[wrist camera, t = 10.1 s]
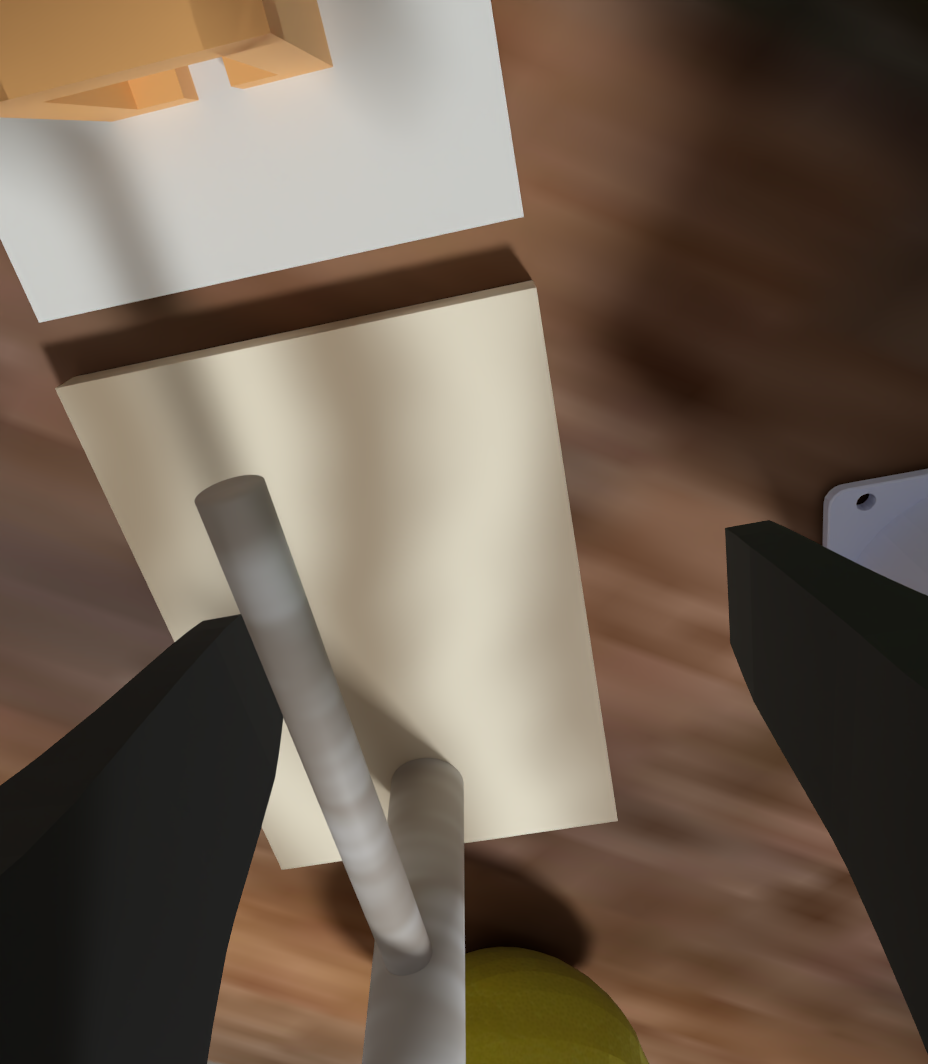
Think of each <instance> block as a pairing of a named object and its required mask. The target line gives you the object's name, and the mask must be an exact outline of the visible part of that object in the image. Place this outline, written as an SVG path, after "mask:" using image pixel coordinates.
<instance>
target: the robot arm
mask: <svg viewBox="0 0 928 1064" xmlns="http://www.w3.org/2000/svg"><path fill="white" fill-rule="evenodd" d="M864 494H869V497H868V499H867V500H866V501H865V502H864V503H862V504H859V505H856V503H857V500H858V499H859V498H860V497H861V496H862V495H864ZM725 535H726V557H727V579H728V601H729V623H730V644H731V646H732V649H733V651H734V654H735V656H736V659H737V662H738V664H739V667H740V669H741V672H742V674H743V677H744V679H745V682H746V684H747V686H748V689H749V691H750V693H751V696H752V698H753V701H754V703H755V705H756V706H757V708H758V710H759V712H760V714H761V715H762V717H763V719H764V721H765V722H766V724H767V726H768V728H769V730H770V731H771V733H772V735H773V737H774V738H775V740H776V742H777V744H778V745H779V747H780V749H781V751H782V752H783V754H784V756H785V758H786V759H787V761H788V763H789V764H790V766H791V768H792V770H793V771H794V773H795V775H796V777H797V778H798V780H799V782H800V783H801V785H802V787H803V789H804V790H805V792H806V794H807V796H808V797H809V799H810V801H811V803H812V804H813V806H814V808H815V809H816V811H817V813H818V815H819V816H820V818H821V820H822V822H823V823H824V825H825V827H826V829H827V830H828V832H829V834H830V836H831V837H832V839H833V841H834V843H835V845H836V847H837V849H838V851H839V853H840V855H841V857H842V859H843V860H844V862H845V864H846V866H847V868H848V871H849V873H850V875H851V877H852V879H853V882H854V884H855V886H856V888H857V891H858V893H859V895H860V897H861V900H862V902H863V904H864V906H865V908H866V911H867V913H868V915H869V917H870V920H871V922H872V924H873V926H874V929H875V931H876V933H877V935H878V937H879V940H880V942H881V944H882V947H883V949H884V951H885V954H886V956H887V958H888V961H889V963H890V965H891V968H892V970H893V972H894V975H895V977H896V979H897V982H898V984H899V986H900V989H901V991H902V993H903V996H904V998H905V1000H906V1003H907V1005H908V1007H909V1010H910V1012H911V1014H912V1017H913V1019H914V1021H915V1024H916V1026H917V1029H918V1031H919V1034H920V1036H921V1039H922V1041H923V1044H924V1046H925V1049H926V1051H927V1053H928V469H923V470H918V471H912V472H907V473H901V474H896V475H890V476H884V477H879V478H873V479H868V480H862V481H857V482H851V483H846V484H841V485H838V486H836V487H834V488H833V489H831V490H830V491H829V492H828V494H827V495H826V496H825V499H824V503H823V546H822V545H820V544H818V543H816V542H814V541H812V540H810V539H808V538H806V537H804V536H802V535H800V534H798V533H796V532H794V531H792V530H790V529H788V528H786V527H784V526H781V525H779V524H777V523H774V522H772V521H770V520H767V521H762V522H756V523H750V524H745V525H739V526H734V527H728V528H725ZM282 726H283V714H282V712H281V710H280V707H279V705H278V702H277V700H276V697H275V695H274V693H273V690H272V688H271V685H270V683H269V680H268V678H267V676H266V673H265V671H264V668H263V666H262V663H261V661H260V659H259V656H258V654H257V651H256V649H255V646H254V644H253V641H252V639H251V637H250V634H249V632H248V629H247V627H246V624H245V622H244V620H243V617H242V615H241V614H238V615H233V616H227V617H221V618H216V619H210V620H204V621H202V622H200V623H199V624H198V625H196V626H195V627H193V628H192V629H191V630H189V631H188V632H187V633H185V634H184V635H183V636H182V637H180V638H179V639H178V640H177V641H176V642H174V643H173V644H172V645H171V646H170V647H168V648H167V649H166V650H165V651H164V652H163V653H162V654H160V655H159V656H158V657H157V658H156V659H155V660H153V661H152V662H151V663H150V664H149V665H148V666H147V667H145V668H144V669H143V670H142V671H141V672H140V673H139V674H137V675H136V676H135V677H134V678H133V679H132V680H131V681H129V682H128V683H127V684H126V685H125V686H124V687H122V688H121V689H120V690H119V691H118V692H117V693H116V694H114V695H113V696H112V697H111V698H110V699H109V700H108V701H106V702H105V703H104V704H103V705H102V706H101V707H99V708H98V709H97V710H96V711H95V712H93V713H92V714H91V715H90V716H88V717H87V718H86V719H85V720H84V721H82V722H81V723H80V724H79V725H77V726H76V727H75V728H74V729H73V730H71V731H70V732H69V733H68V734H66V735H65V736H64V737H63V738H61V739H60V740H59V741H58V742H57V743H55V744H54V745H53V746H52V747H50V748H49V749H48V750H47V751H45V752H44V753H43V754H42V755H41V756H39V757H38V758H37V759H35V760H34V761H33V762H31V763H30V764H29V765H28V766H26V767H25V768H24V769H22V770H21V771H20V772H18V773H17V774H15V775H14V776H13V777H11V778H10V779H9V780H7V781H6V782H5V783H3V784H2V785H0V1064H207V1060H208V1053H209V1047H210V1041H211V1034H212V1028H213V1022H214V1016H215V1011H216V1006H217V1000H218V995H219V989H220V984H221V978H222V973H223V967H224V962H225V957H226V952H227V947H228V943H229V939H230V935H231V931H232V927H233V923H234V919H235V916H236V912H237V909H238V905H239V902H240V898H241V895H242V892H243V888H244V885H245V881H246V878H247V875H248V871H249V868H250V864H251V861H252V857H253V854H254V851H255V847H256V844H257V840H258V837H259V834H260V830H261V827H262V823H263V820H264V816H265V813H266V809H267V806H268V802H269V798H270V795H271V791H272V788H273V784H274V780H275V776H276V769H277V763H278V757H279V750H280V742H281V734H282Z"/></svg>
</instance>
